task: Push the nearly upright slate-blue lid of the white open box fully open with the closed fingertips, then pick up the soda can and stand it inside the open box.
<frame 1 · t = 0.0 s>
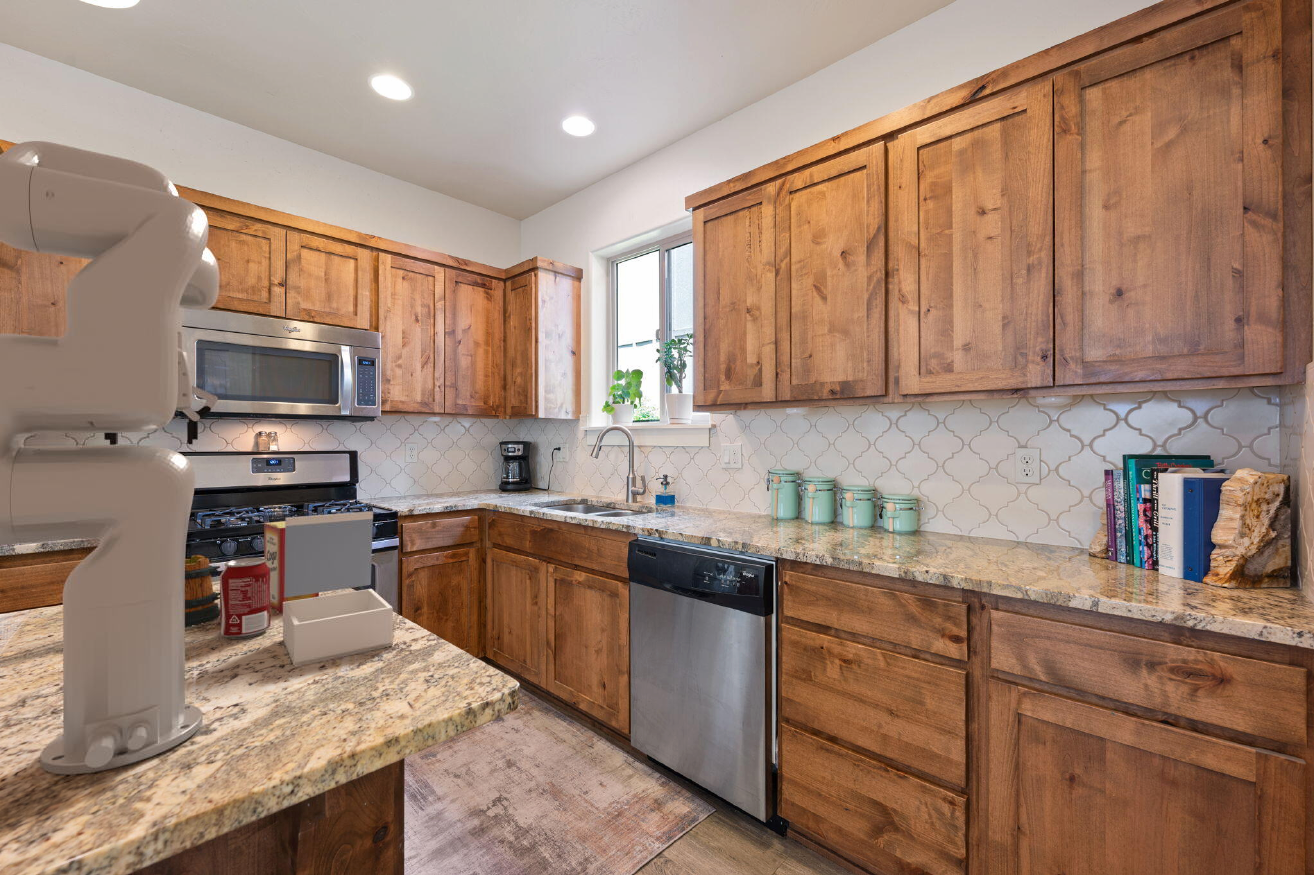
hand: (153, 444, 96), 31 cm above the countertop, tool pointing down, fingers open, 9 cm apart
soda can: (245, 635, 94), on the countertop
white open box: (337, 642, 90), on the countertop
mug: (177, 623, 100), on the countertop
lid: (330, 552, 95), point 13 cm above the countertop, hinge at 82.0°
baking soda box: (291, 605, 111), on the countertop
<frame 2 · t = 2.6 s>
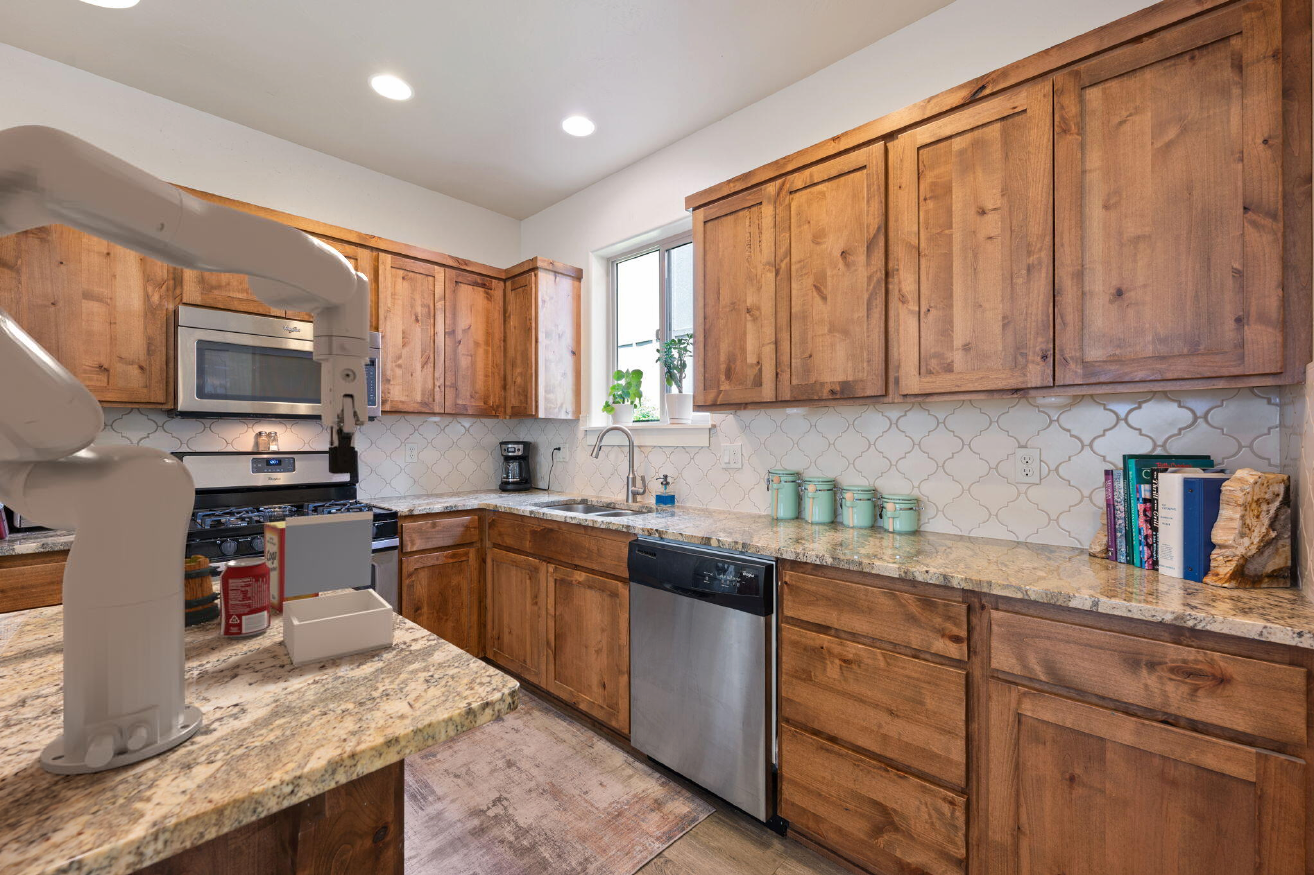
hand: (341, 472, 87), 27 cm above the countertop, tool pointing down, fingers closed
nothing on the countertop moved.
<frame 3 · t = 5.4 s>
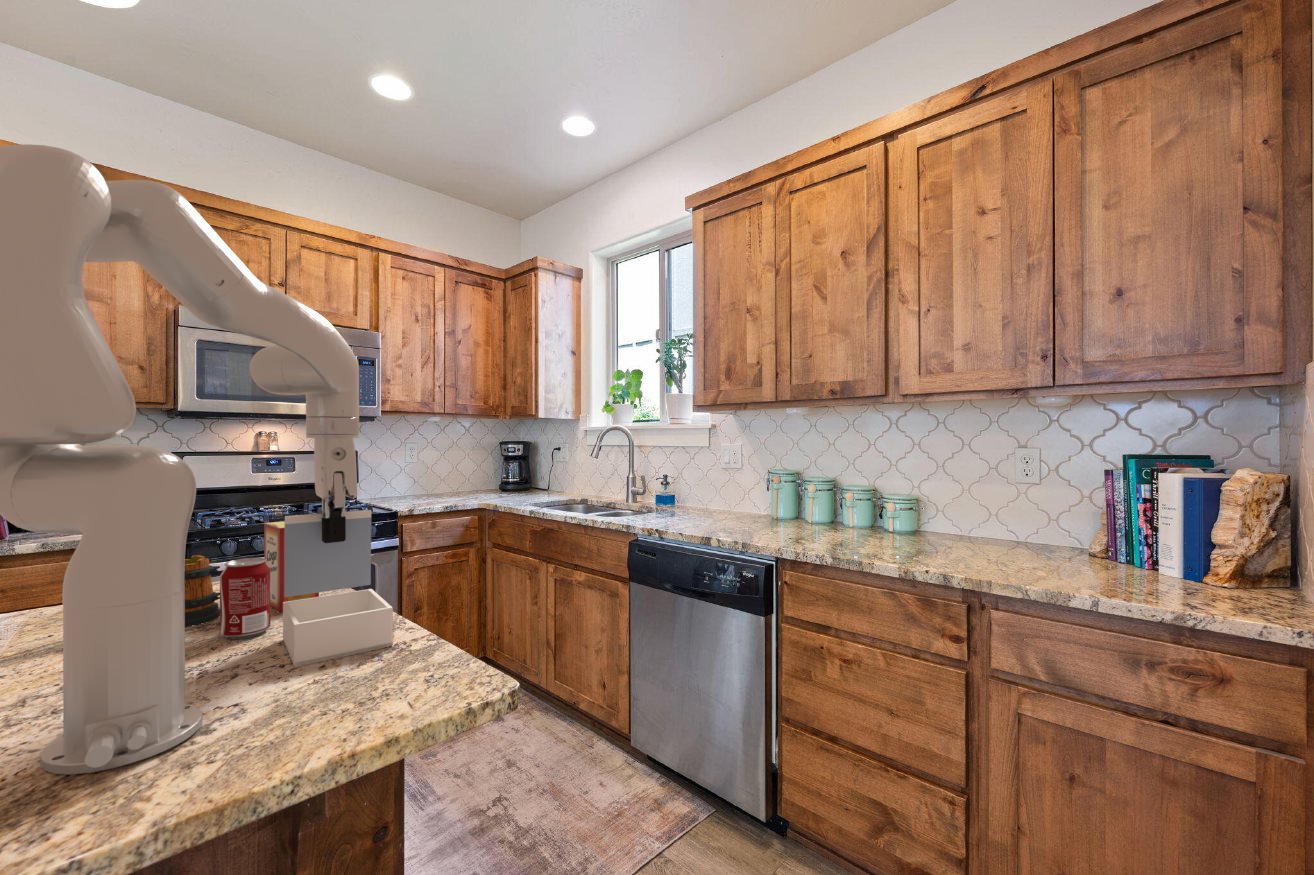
hand: (333, 541, 93), 15 cm above the countertop, tool pointing down, fingers closed
lid: (329, 551, 95), point 13 cm above the countertop, hinge at 87.9°, touching gripper
everything else where it was.
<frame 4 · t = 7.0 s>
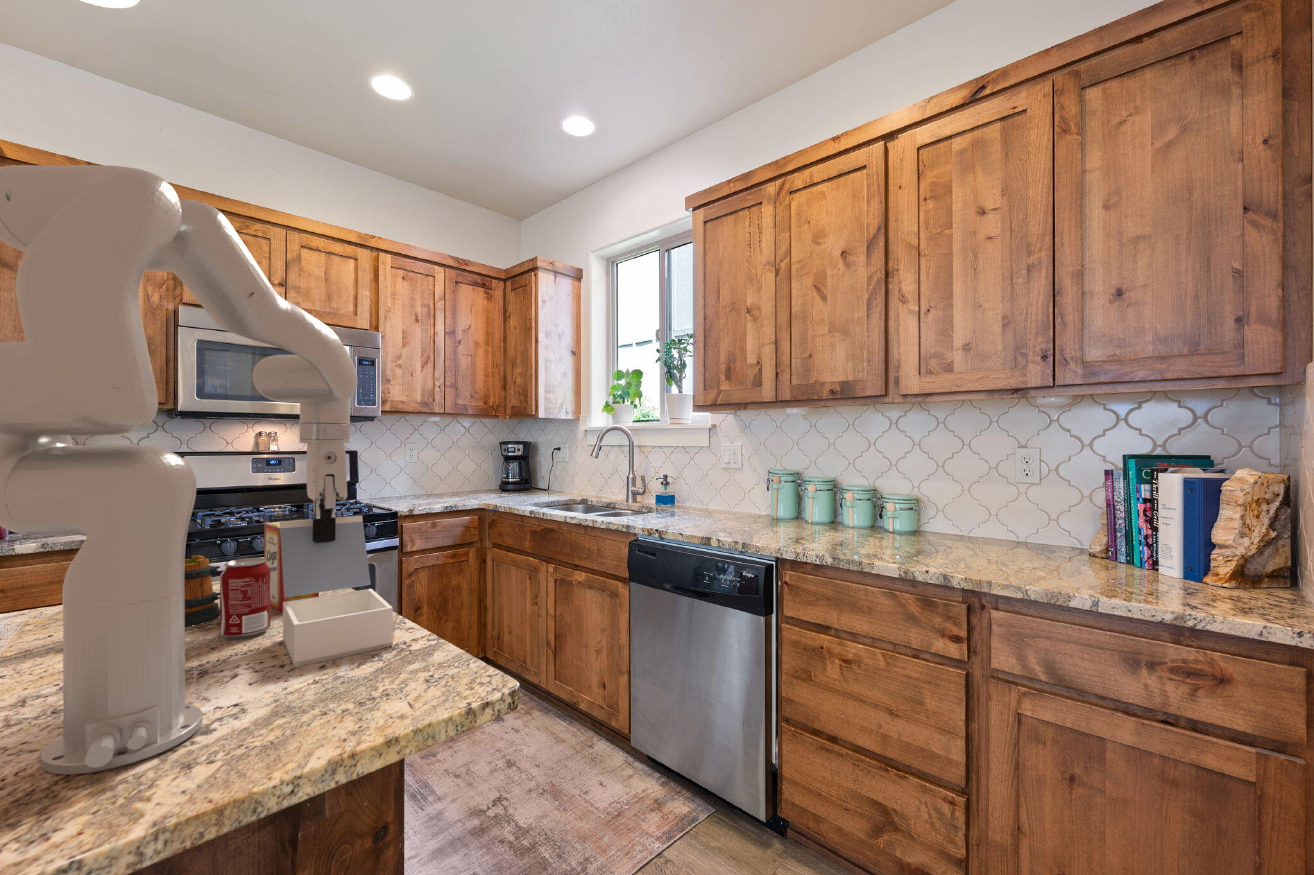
hand: (323, 541, 98), 15 cm above the countertop, tool pointing down, fingers closed
lid: (325, 553, 98), point 12 cm above the countertop, hinge at 120.7°, touching gripper
everything else where it was.
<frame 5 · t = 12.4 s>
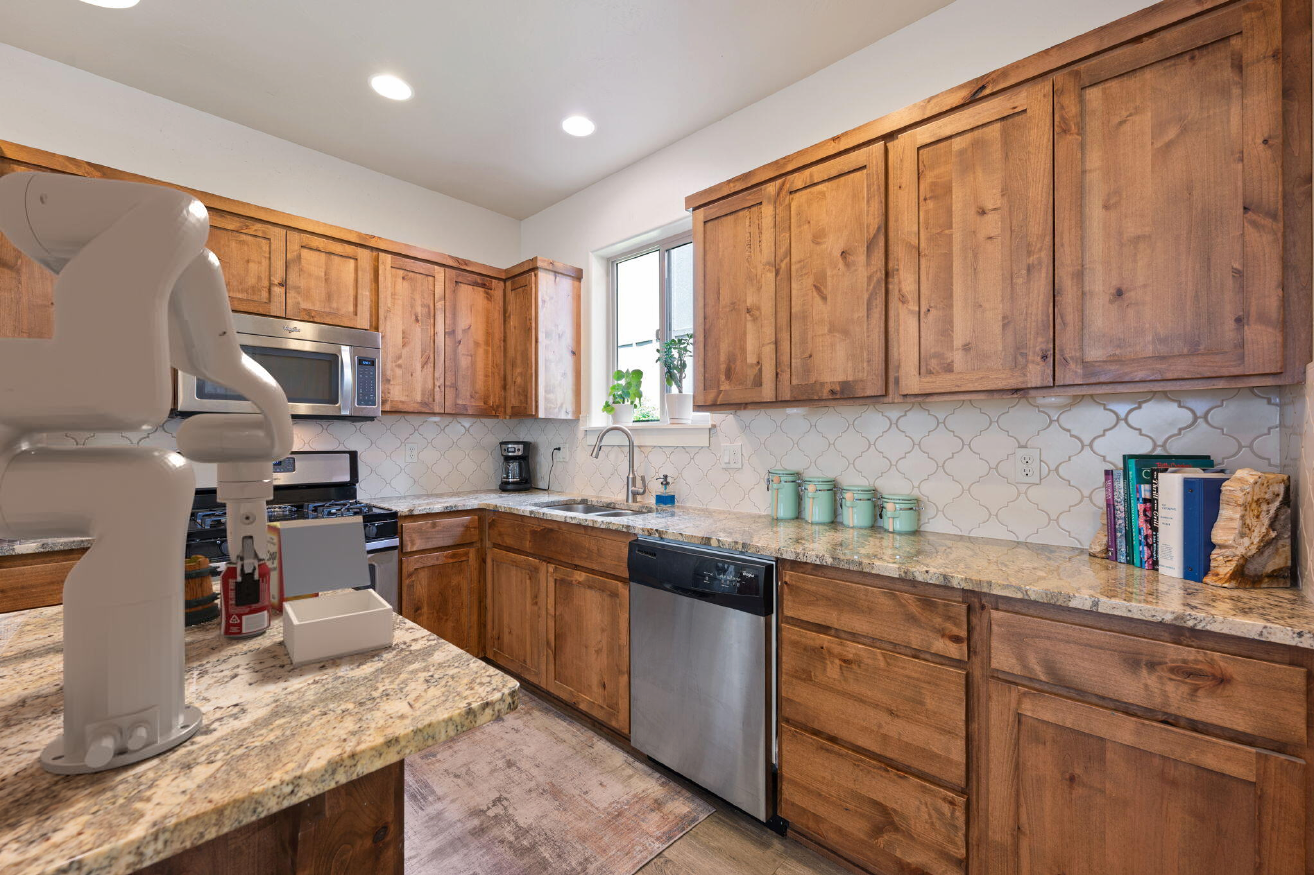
hand: (245, 598, 94), 6 cm above the countertop, tool pointing down, fingers closed on soda can, 6 cm apart
soda can: (245, 635, 94), on the countertop, touching gripper
lid: (325, 553, 98), point 12 cm above the countertop, hinge at 120.8°
everything else where it was.
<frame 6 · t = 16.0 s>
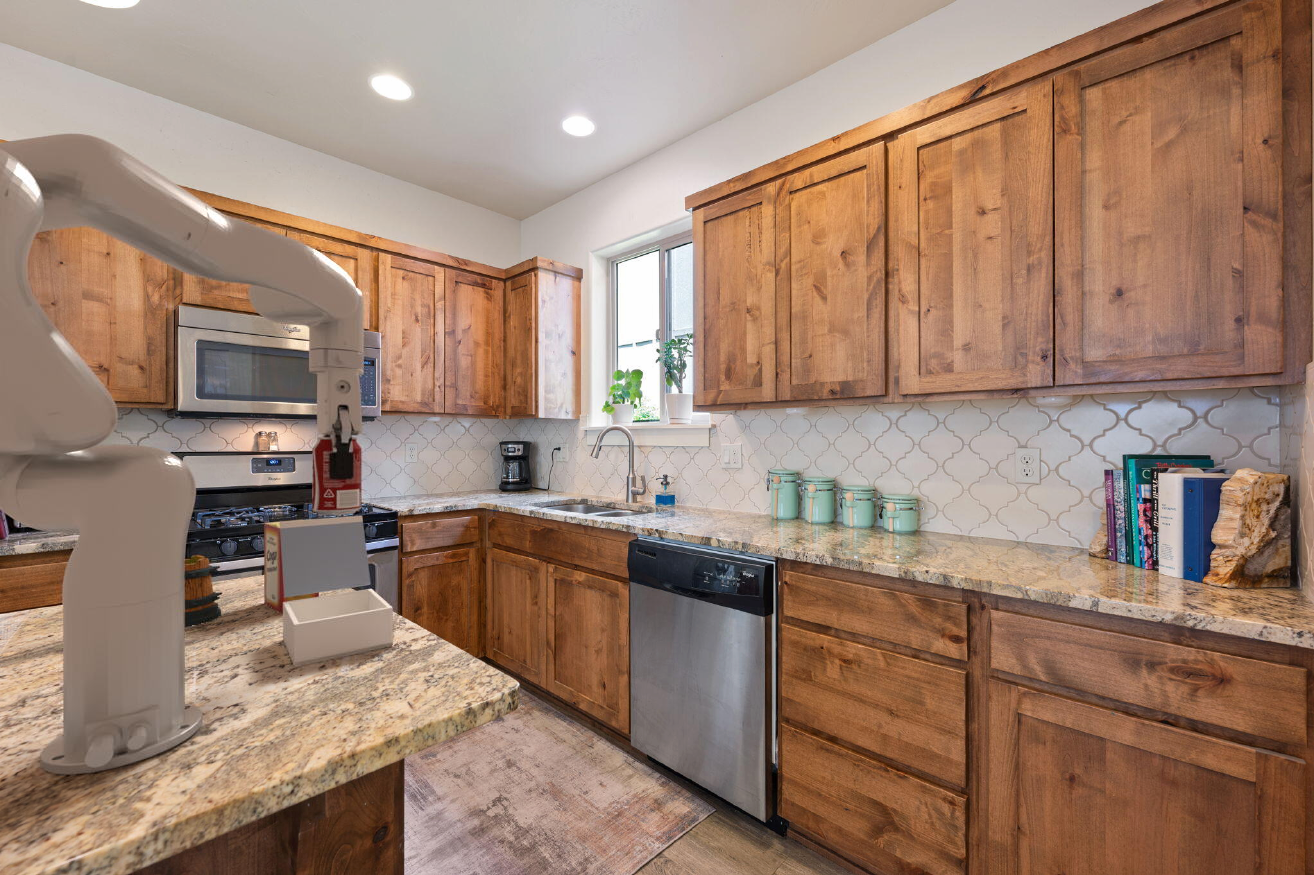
hand: (336, 476, 90), 26 cm above the countertop, tool pointing down, fingers closed on soda can, 6 cm apart
soda can: (337, 514, 90), point 20 cm above the countertop, touching gripper
everything else where it was.
when the fingers open (8 cm above the countertop, at t = 19.8 s): soda can drops 1 cm, resting on white open box.
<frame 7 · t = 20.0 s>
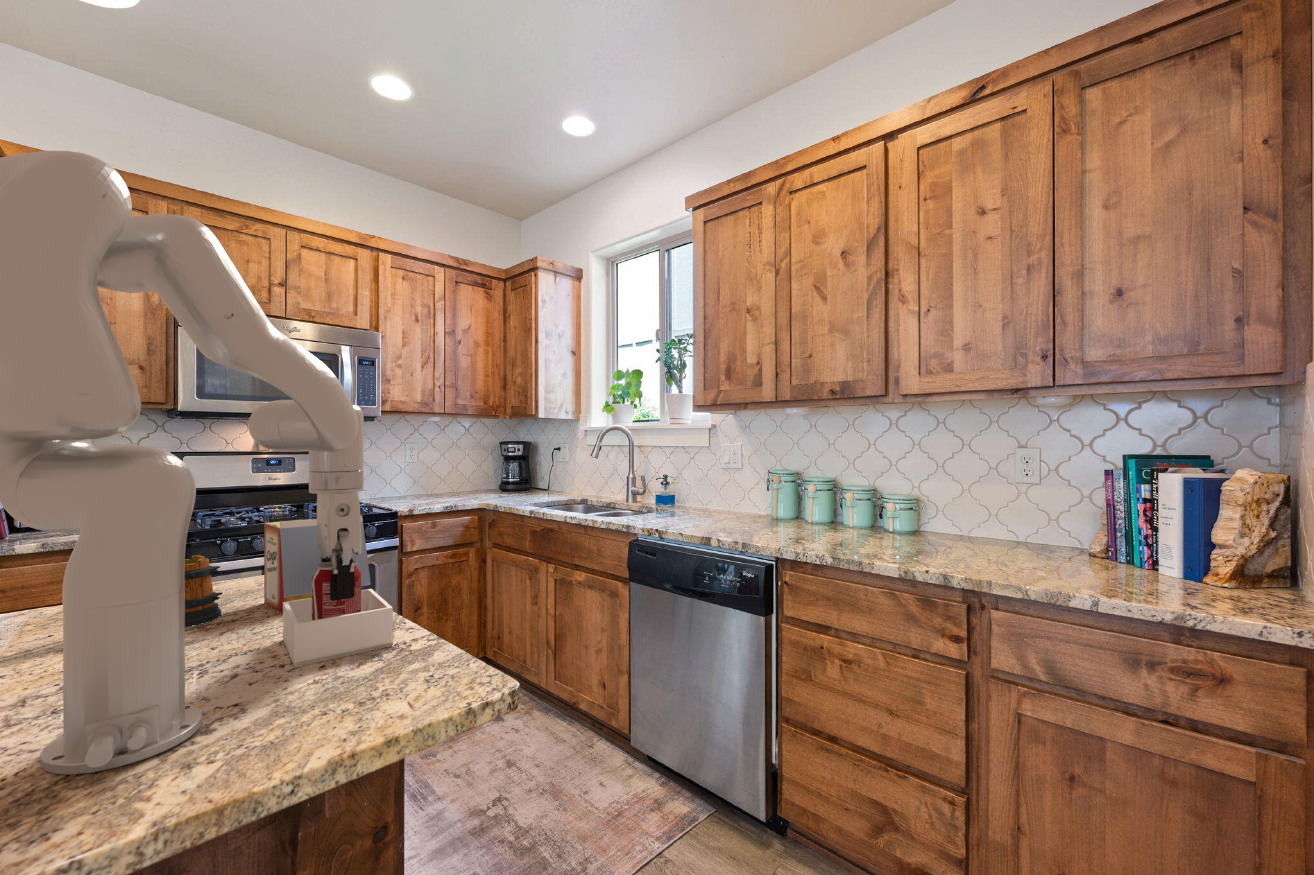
hand: (336, 592, 90), 8 cm above the countertop, tool pointing down, fingers open, 8 cm apart
soda can: (336, 642, 89), resting on white open box, touching gripper
everything else where it was.
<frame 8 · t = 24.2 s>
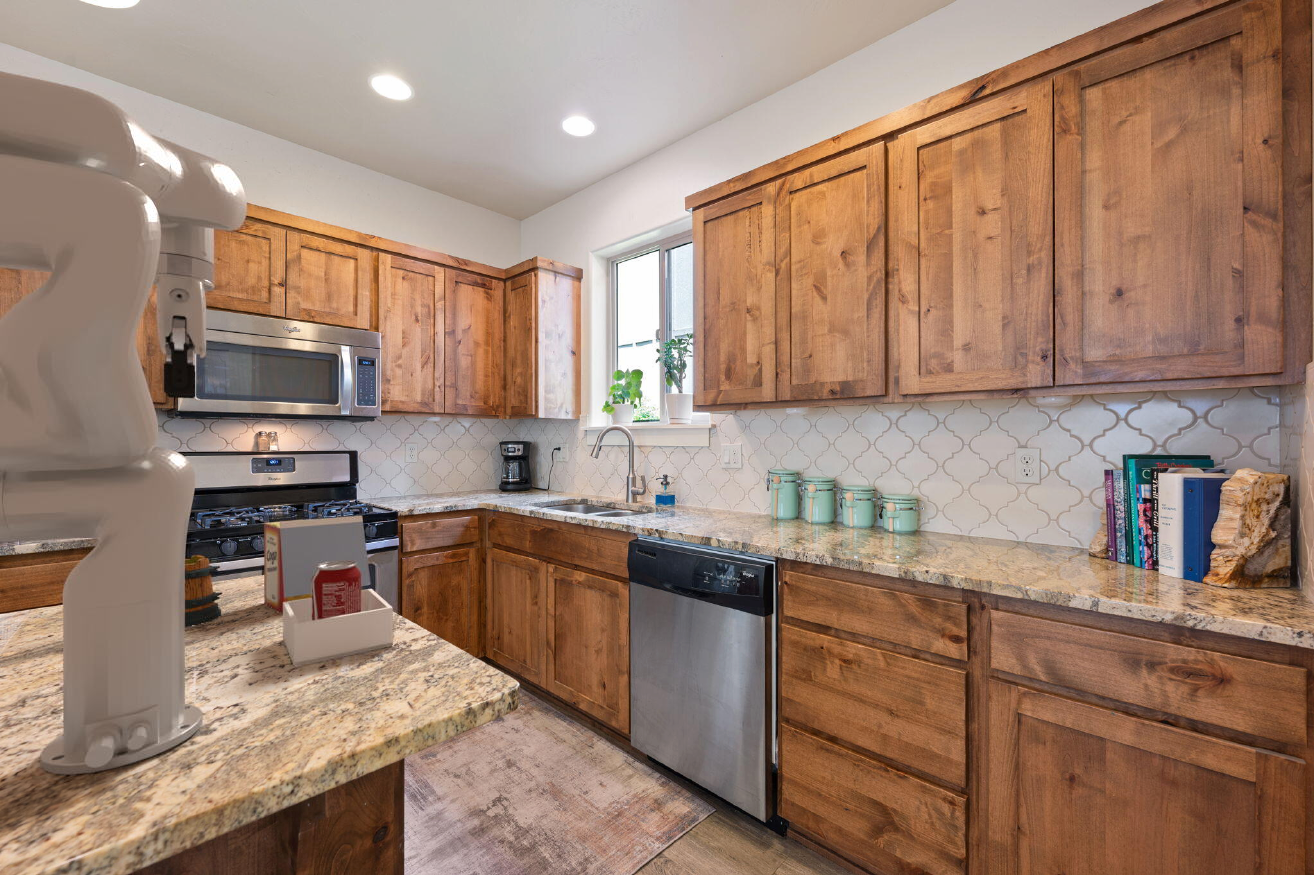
hand: (180, 396, 81), 38 cm above the countertop, tool pointing down, fingers open, 9 cm apart
soda can: (336, 642, 89), resting on white open box
everything else where it was.
at the end: lid at +121° (first picture: +82°); soda can inside the target area on the white open box (0.9 cm from its centre), point 0.4 cm above the white open box's base; soda can tilted 0° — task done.
